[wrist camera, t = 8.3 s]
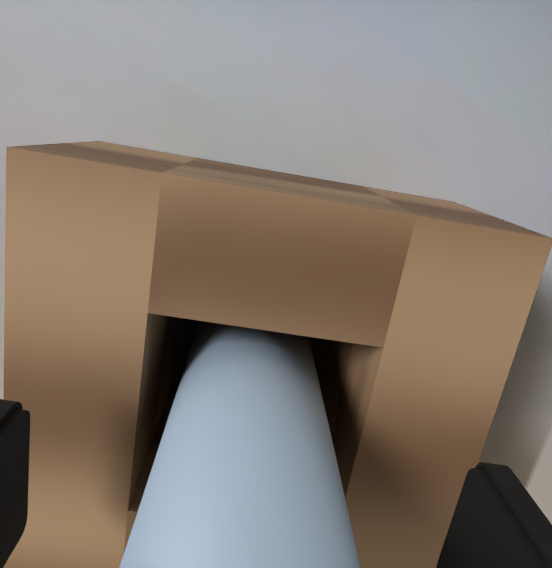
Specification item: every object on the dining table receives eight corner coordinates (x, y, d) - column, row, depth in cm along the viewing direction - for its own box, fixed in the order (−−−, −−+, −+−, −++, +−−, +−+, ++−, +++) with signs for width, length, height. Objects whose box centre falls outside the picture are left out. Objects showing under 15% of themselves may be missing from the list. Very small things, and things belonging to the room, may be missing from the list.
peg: (205, 276, 17) (96, 555, 6) (316, 293, 18) (415, 590, 6) (191, 377, 19) (78, 774, 7) (296, 392, 19) (350, 795, 7)
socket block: (97, 141, 16) (6, 146, 10) (455, 202, 17) (554, 239, 11) (78, 455, 19) (1, 591, 14) (375, 492, 20) (420, 634, 15)
